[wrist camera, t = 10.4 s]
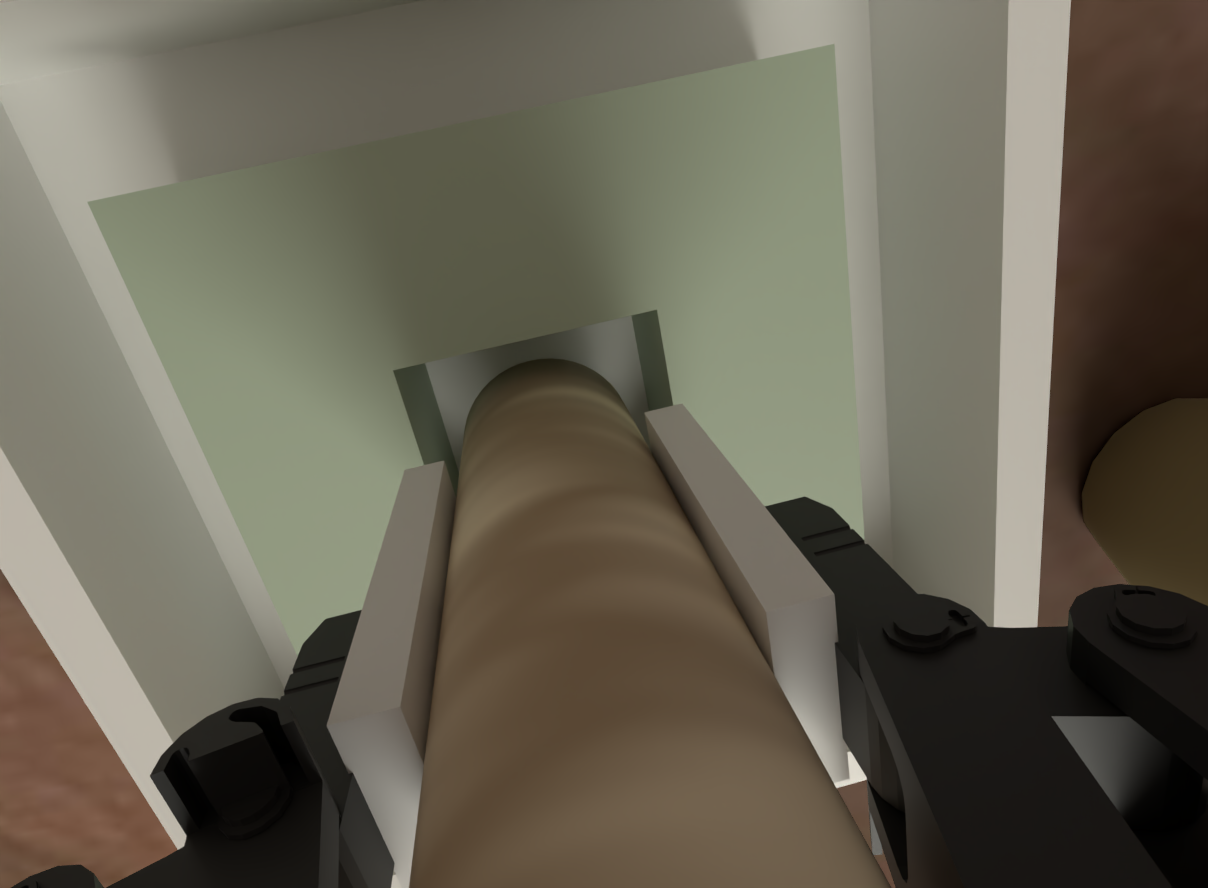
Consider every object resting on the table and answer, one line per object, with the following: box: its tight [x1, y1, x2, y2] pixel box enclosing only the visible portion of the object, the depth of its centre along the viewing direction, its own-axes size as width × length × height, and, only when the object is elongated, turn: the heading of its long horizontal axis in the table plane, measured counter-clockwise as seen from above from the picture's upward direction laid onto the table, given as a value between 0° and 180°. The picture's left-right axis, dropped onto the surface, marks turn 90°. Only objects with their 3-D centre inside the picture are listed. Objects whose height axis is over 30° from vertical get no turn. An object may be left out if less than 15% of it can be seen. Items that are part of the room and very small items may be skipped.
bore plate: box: [87, 44, 865, 657], centre depth 17 cm, size 14×14×4 cm
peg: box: [409, 358, 891, 888], centre depth 10 cm, size 4×4×14 cm
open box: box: [0, 0, 1071, 888], centre depth 17 cm, size 22×22×6 cm
